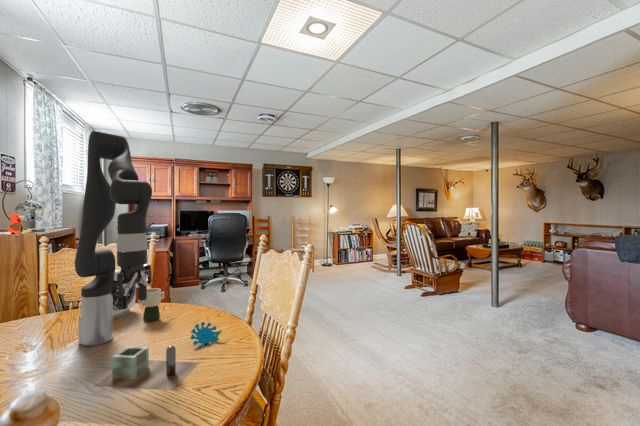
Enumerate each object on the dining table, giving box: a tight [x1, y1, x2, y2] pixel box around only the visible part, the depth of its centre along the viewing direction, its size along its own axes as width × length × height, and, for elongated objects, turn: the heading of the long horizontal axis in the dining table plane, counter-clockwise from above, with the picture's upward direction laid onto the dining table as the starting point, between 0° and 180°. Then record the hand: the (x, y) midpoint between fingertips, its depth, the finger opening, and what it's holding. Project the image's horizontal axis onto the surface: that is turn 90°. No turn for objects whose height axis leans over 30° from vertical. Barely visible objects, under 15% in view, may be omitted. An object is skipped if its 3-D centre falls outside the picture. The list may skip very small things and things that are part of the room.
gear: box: [190, 321, 223, 349], centre depth 109 cm, size 11×6×10 cm
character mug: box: [137, 287, 165, 322], centre depth 131 cm, size 11×7×13 cm, turn 145°
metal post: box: [165, 345, 177, 377], centre depth 87 cm, size 2×2×8 cm
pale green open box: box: [111, 345, 150, 379], centre depth 88 cm, size 6×6×6 cm
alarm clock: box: [113, 269, 137, 320], centre depth 135 cm, size 18×8×20 cm, turn 170°
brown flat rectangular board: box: [95, 359, 200, 391], centre depth 88 cm, size 22×14×1 cm, turn 86°
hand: (133, 304), depth 89 cm, fingers open, 8 cm apart
